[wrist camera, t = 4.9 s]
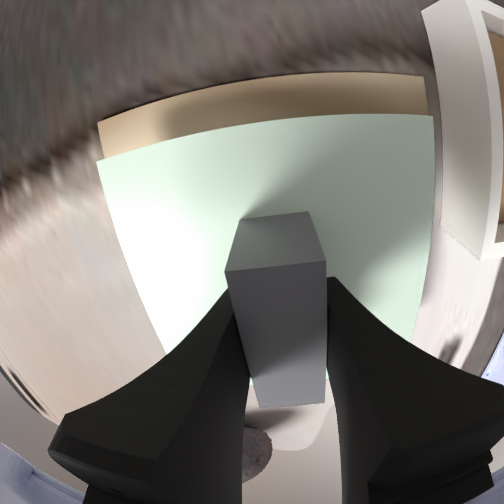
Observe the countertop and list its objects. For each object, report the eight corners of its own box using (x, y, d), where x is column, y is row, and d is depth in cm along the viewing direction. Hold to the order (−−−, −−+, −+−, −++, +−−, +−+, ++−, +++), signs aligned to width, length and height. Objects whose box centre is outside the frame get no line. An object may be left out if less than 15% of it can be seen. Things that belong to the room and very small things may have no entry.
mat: (407, 338, 16) (408, 341, 16) (178, 360, 18) (177, 363, 18) (420, 77, 10) (423, 76, 9) (100, 122, 12) (97, 122, 11)
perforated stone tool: (256, 407, 21) (251, 481, 14) (288, 430, 22) (287, 494, 16) (146, 430, 25) (130, 480, 19) (178, 450, 27) (167, 496, 21)
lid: (392, 338, 15) (421, 415, 10) (191, 358, 16) (168, 435, 11) (407, 114, 9) (496, 124, 4) (122, 152, 11) (34, 187, 6)
